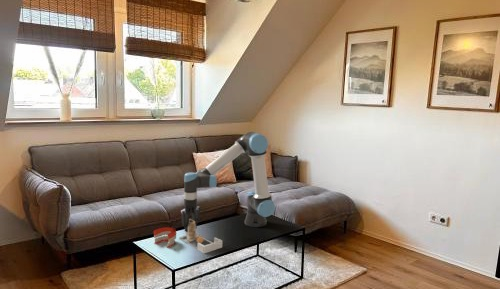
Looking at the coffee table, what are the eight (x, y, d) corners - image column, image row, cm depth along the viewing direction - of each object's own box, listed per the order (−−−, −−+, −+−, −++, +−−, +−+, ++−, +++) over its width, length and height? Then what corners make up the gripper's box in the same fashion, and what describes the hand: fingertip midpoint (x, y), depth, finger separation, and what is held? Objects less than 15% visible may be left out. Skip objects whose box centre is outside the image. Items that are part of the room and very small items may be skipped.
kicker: (194, 236, 228) (194, 217, 227) (199, 238, 224) (199, 219, 223) (183, 239, 223) (183, 220, 221) (188, 242, 219) (188, 222, 217)
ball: (200, 241, 220) (200, 235, 220) (204, 243, 217) (204, 237, 217) (195, 243, 217) (195, 236, 217) (199, 245, 215) (199, 238, 214)
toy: (181, 242, 219) (181, 229, 218) (169, 248, 210) (168, 235, 209) (165, 237, 225) (165, 225, 224) (153, 243, 216) (152, 230, 215)
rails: (194, 234, 231) (194, 232, 231) (214, 244, 217) (214, 242, 217) (179, 239, 223) (179, 237, 223) (198, 249, 209) (198, 247, 209)
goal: (215, 243, 217) (215, 237, 217) (222, 247, 213) (222, 240, 212) (197, 249, 208) (197, 243, 208) (204, 253, 204) (204, 246, 203)
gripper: (198, 194, 229) (198, 230, 232) (174, 199, 218) (175, 237, 221) (205, 197, 224) (205, 233, 227) (182, 202, 212) (182, 240, 215)
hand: (190, 235), depth 224 cm, fingers closed on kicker, 4 cm apart
